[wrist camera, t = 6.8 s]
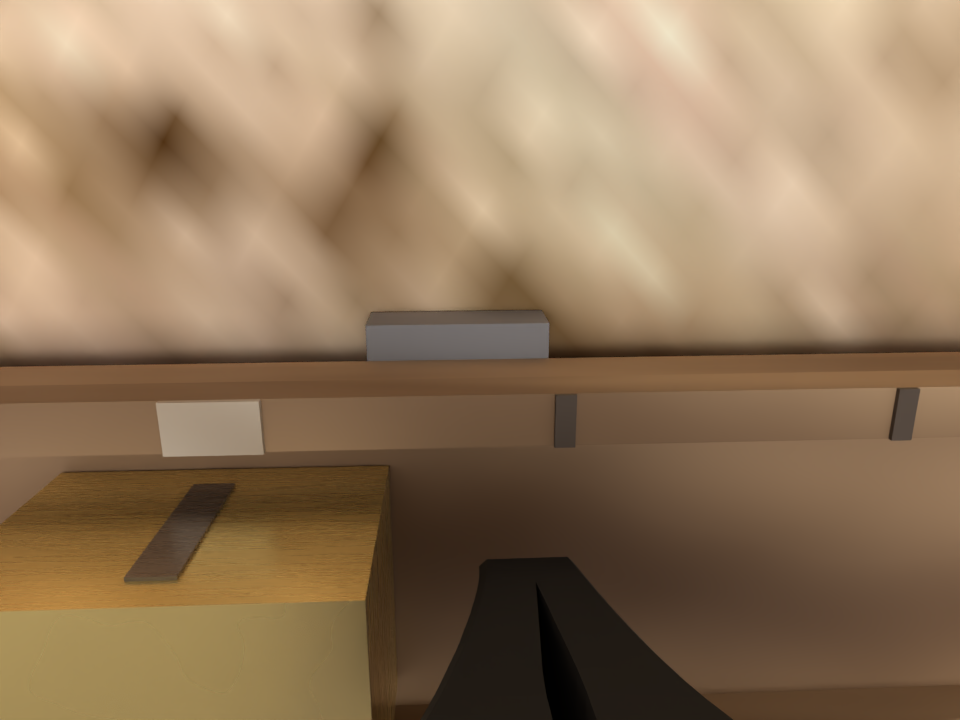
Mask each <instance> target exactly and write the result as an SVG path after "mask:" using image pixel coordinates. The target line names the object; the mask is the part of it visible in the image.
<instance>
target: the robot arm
mask: <svg viewBox="0 0 960 720" xmlns="http://www.w3.org/2000/svg"><path fill="white" fill-rule="evenodd" d="M420 720H733V719H732V718H731V717H729V716H728V715H727V714H725V713H724V712H723V711H722V710H720V709H719V708H718V707H716V706H715V705H714V704H713V703H711V702H710V701H709V700H707V699H706V698H705V697H704V696H702V695H701V694H700V693H699V692H698V691H696V690H695V689H694V688H693V687H692V686H690V685H689V684H688V683H687V682H686V681H685V680H684V679H682V678H681V677H680V676H679V675H678V674H677V673H676V672H675V671H674V670H673V669H672V668H671V667H669V666H668V665H667V664H666V663H665V662H664V661H663V660H662V659H661V658H660V657H659V656H658V655H657V654H656V653H655V652H654V651H653V650H652V649H651V648H650V647H649V646H648V645H647V644H646V643H645V642H644V641H643V640H642V639H641V638H640V637H639V636H638V635H637V634H636V633H635V632H634V631H633V630H632V629H631V628H630V627H629V626H628V624H627V623H626V622H625V621H624V620H623V619H622V618H621V617H620V616H619V615H618V614H617V613H616V612H615V611H614V609H613V608H612V607H611V606H610V605H609V604H608V603H607V601H606V600H605V599H604V598H603V597H602V596H601V595H600V593H599V592H598V591H597V590H596V589H595V588H594V586H593V585H592V584H591V583H590V582H589V580H588V579H587V578H586V577H585V576H584V574H583V573H582V572H581V571H580V570H579V568H578V567H577V566H576V565H575V563H574V562H573V561H572V560H570V559H569V558H568V557H541V558H510V559H487V560H485V561H484V562H483V563H482V564H481V565H480V566H479V582H478V587H477V592H476V596H475V599H474V603H473V606H472V610H471V613H470V616H469V618H468V621H467V624H466V626H465V629H464V632H463V634H462V637H461V640H460V642H459V645H458V647H457V649H456V652H455V654H454V656H453V658H452V660H451V662H450V664H449V666H448V668H447V670H446V673H445V675H444V677H443V679H442V681H441V683H440V685H439V687H438V689H437V691H436V693H435V695H434V696H433V698H432V700H431V702H430V704H429V706H428V707H427V709H426V711H425V713H424V714H423V716H422V718H421V719H420Z"/></svg>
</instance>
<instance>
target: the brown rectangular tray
mask: <svg viewBox="0 0 960 720" xmlns="http://www.w3.org/2000/svg"><path fill="white" fill-rule="evenodd" d="M366 347H367V361H341V362H278V363H214V364H151V365H87V366H23V367H0V524H1V523H3V522H4V521H5V520H6V519H7V518H9V517H10V516H11V515H12V514H13V513H14V512H16V511H17V510H18V509H19V508H20V507H22V506H23V505H24V504H25V503H26V502H27V501H29V500H30V499H31V498H32V497H33V496H35V495H36V494H37V493H38V492H39V491H40V490H42V489H43V488H44V487H45V486H46V485H48V484H49V483H50V482H51V481H52V480H53V479H55V478H56V477H57V476H58V475H59V474H61V473H76V472H121V471H166V470H211V469H257V468H302V467H347V466H389V481H390V505H391V529H392V553H393V576H394V600H395V624H396V648H397V672H398V682H397V693H396V705H395V716H394V720H420V719H421V718H422V716H423V714H424V713H425V711H426V709H427V707H428V706H429V704H430V702H431V700H432V698H433V696H434V695H435V693H436V691H437V689H438V687H439V685H440V683H441V681H442V679H443V677H444V675H445V673H446V670H447V668H448V666H449V664H450V662H451V660H452V658H453V656H454V654H455V652H456V649H457V647H458V645H459V642H460V640H461V637H462V634H463V632H464V629H465V626H466V624H467V621H468V618H469V616H470V613H471V610H472V606H473V603H474V599H475V596H476V592H477V587H478V582H479V566H480V565H481V564H482V563H483V562H484V561H485V560H487V559H510V558H541V557H568V558H569V559H570V560H572V561H573V562H574V563H575V565H576V566H577V567H578V568H579V570H580V571H581V572H582V573H583V574H584V576H585V577H586V578H587V579H588V580H589V582H590V583H591V584H592V585H593V586H594V588H595V589H596V590H597V591H598V592H599V593H600V595H601V596H602V597H603V598H604V599H605V600H606V601H607V603H608V604H609V605H610V606H611V607H612V608H613V609H614V611H615V612H616V613H617V614H618V615H619V616H620V617H621V618H622V619H623V620H624V621H625V622H626V623H627V624H628V626H629V627H630V628H631V629H632V630H633V631H634V632H635V633H636V634H637V635H638V636H639V637H640V638H641V639H642V640H643V641H644V642H645V643H646V644H647V645H648V646H649V647H650V648H651V649H652V650H653V651H654V652H655V653H656V654H657V655H658V656H659V657H660V658H661V659H662V660H663V661H664V662H665V663H666V664H667V665H668V666H669V667H671V668H672V669H673V670H674V671H675V672H676V673H677V674H678V675H679V676H680V677H681V678H682V679H684V680H685V681H686V682H687V683H688V684H689V685H690V686H692V687H693V688H694V689H695V690H696V691H698V692H699V693H700V694H701V695H702V696H704V697H705V698H706V699H707V700H709V701H710V702H711V703H713V704H714V705H715V706H716V707H718V708H719V709H720V710H722V711H723V712H724V713H725V714H727V715H728V716H729V717H731V718H732V719H733V720H960V352H914V353H850V354H787V355H723V356H660V357H596V358H548V355H549V322H548V320H547V318H546V317H545V315H544V313H543V312H542V310H505V311H426V312H371V314H370V317H369V319H368V321H367V323H366Z"/></svg>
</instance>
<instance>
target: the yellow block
mask: <svg viewBox="0 0 960 720" xmlns="http://www.w3.org/2000/svg"><path fill="white" fill-rule="evenodd" d="M397 682H398V672H397V648H396V624H395V600H394V576H393V553H392V529H391V505H390V481H389V466H347V467H302V468H257V469H211V470H166V471H121V472H76V473H61V474H59V475H58V476H57V477H56V478H55V479H53V480H52V481H51V482H50V483H49V484H48V485H46V486H45V487H44V488H43V489H42V490H40V491H39V492H38V493H37V494H36V495H35V496H33V497H32V498H31V499H30V500H29V501H27V502H26V503H25V504H24V505H23V506H22V507H20V508H19V509H18V510H17V511H16V512H14V513H13V514H12V515H11V516H10V517H9V518H7V519H6V520H5V521H4V522H3V523H1V524H0V720H394V716H395V705H396V693H397Z"/></svg>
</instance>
